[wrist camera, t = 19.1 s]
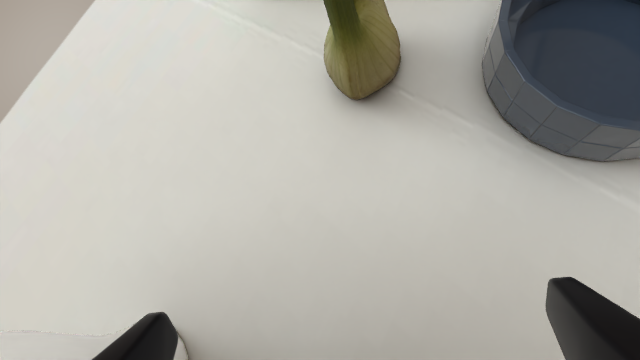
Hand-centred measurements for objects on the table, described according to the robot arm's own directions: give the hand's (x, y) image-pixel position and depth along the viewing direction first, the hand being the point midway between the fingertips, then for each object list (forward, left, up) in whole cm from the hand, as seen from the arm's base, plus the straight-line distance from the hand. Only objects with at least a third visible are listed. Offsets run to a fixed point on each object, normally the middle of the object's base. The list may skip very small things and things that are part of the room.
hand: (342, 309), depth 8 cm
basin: (+8, -18, -14) cm, 24 cm away
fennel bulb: (+14, -5, -14) cm, 20 cm away
